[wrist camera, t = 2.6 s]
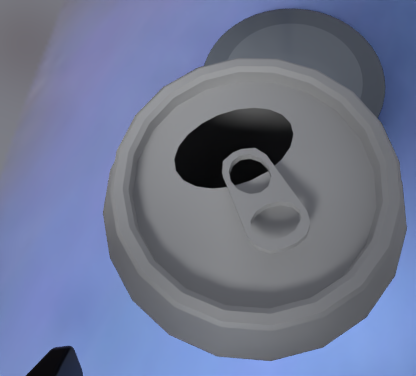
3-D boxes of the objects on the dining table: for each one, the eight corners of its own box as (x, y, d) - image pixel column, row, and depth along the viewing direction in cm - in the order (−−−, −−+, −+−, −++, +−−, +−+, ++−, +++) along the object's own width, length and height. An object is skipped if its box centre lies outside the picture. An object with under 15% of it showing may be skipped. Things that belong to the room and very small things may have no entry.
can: (278, 170, 21) (327, -14, 10) (349, 303, 18) (526, 266, 7) (148, 224, 20) (39, 97, 9) (202, 370, 18) (145, 443, 7)
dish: (415, 86, 22) (424, 74, 21) (297, 207, 20) (300, 200, 19) (282, -5, 25) (284, -20, 24) (168, 93, 23) (164, 82, 22)
